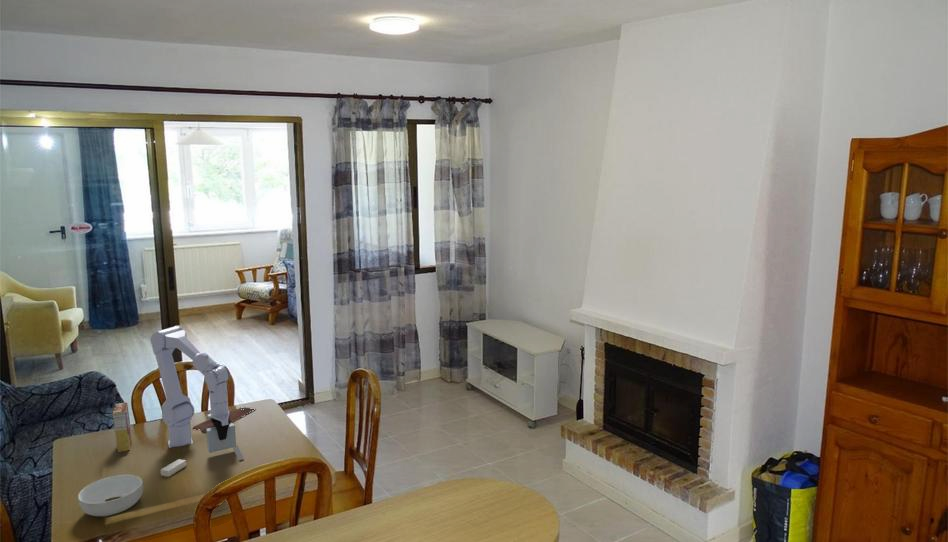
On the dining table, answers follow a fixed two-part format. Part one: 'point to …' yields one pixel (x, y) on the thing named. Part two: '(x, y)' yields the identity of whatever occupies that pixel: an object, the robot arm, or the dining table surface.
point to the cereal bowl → (110, 495)
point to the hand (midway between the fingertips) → (221, 437)
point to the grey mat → (238, 453)
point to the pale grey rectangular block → (217, 444)
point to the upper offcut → (173, 467)
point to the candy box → (122, 427)
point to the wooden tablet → (233, 417)
